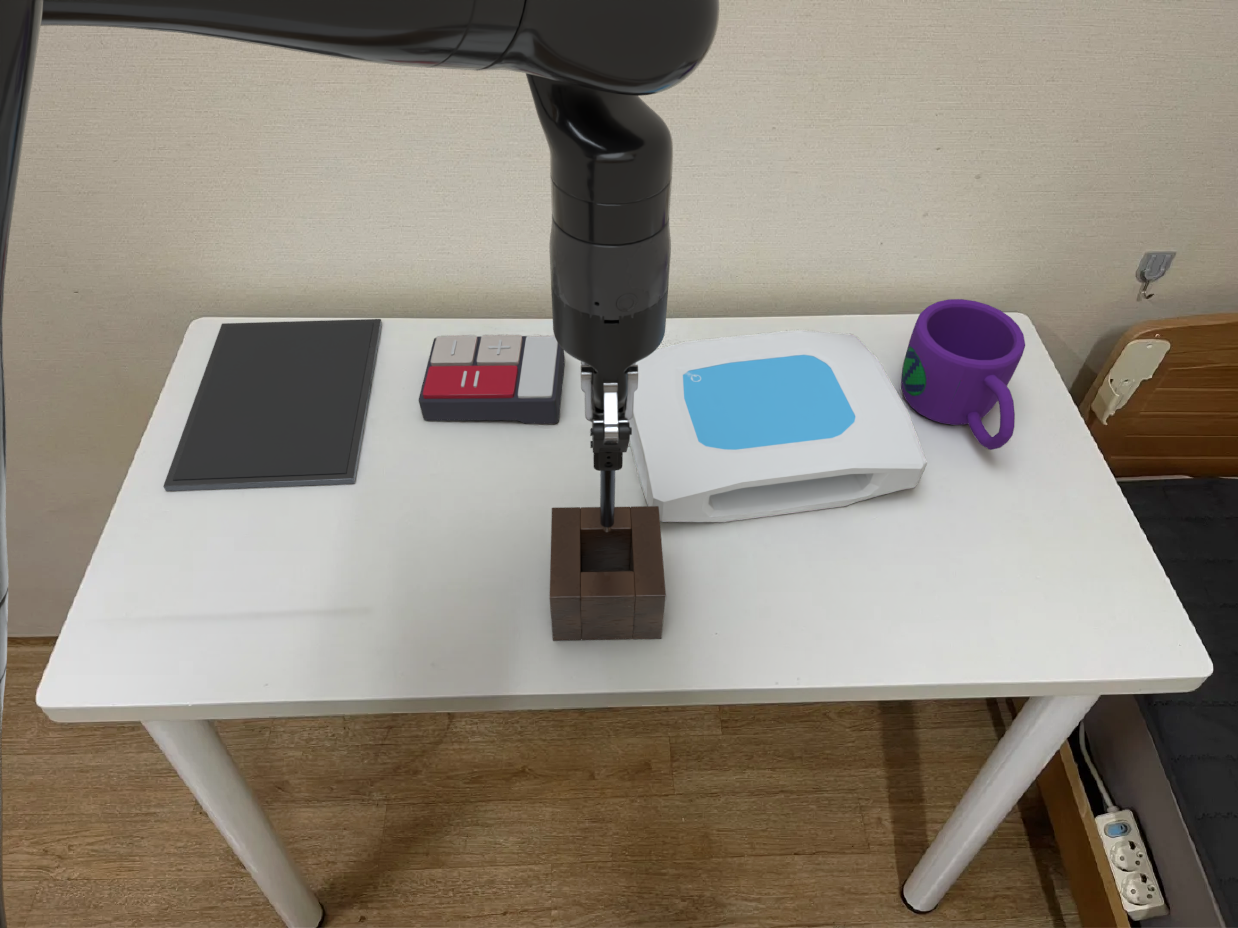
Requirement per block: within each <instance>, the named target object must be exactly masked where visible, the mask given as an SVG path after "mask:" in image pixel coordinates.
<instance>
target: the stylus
mask: <svg viewBox="0 0 1238 928" xmlns="http://www.w3.org/2000/svg"><path fill="white" fill-rule="evenodd" d="M616 471H617V470H615V471H599V472H600V473H599V475H600V476H599V478H600V479H599V507H600V524H601V525H602V526H603V530H604V531H605V532H610V531H611V526H613V524H614V514H615V507H616Z"/></svg>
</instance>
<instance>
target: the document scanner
mask: <svg viewBox="0 0 1238 928" xmlns="http://www.w3.org/2000/svg"><path fill="white" fill-rule="evenodd" d="M635 365H638V389H637V390H636V391H635V392H634V405H633V418H632V419H631V420H629V424H630V427H632V435H630V440H629V447H630V450H631V454H632V458H633V462H634V465H635V469H636V474H637V478H638V481H639V485H640V487H641V491H642V493H643V496H644V500H645V502H646V504H647V506H658V507H659V516H660V522H664V523H667V522H668V523H728V522H735V521H742V520H750V519H756V518H766V517H773V516H781V515H787V514H795V513H803V512H804V513H805V512H810V511H819V510H824V509H833V508H840V507H841V508H842V507H847V506H849V505H852V504H854V503H858V502H861V501H865V500H869V499H873V498H876V497H880V496H884V495H888V494H891V493H895V492H898V491H904V490H909V489H914V488H916V487H917V485H918V484H919V483H920V481H921V479H922V476H923V474H924V472H925V470H926V468H927V467H926V466H927V464H928V461H927V458H926V456H925V455H926V454H925V452H924V451H923V450H924V449H923V447H922V444H921V443H920V439H919V437H918V434H917V431H916V428H915V426H914V423H913V419H912V418H911V415H910V413H909V411H908V409H907V406H906V405H905V404H904V402H903V400H902V399H901V397H900V395H899V393H898V391H897V390H896V388H895V386H894V384H893V382H892V381H891V379H890V377H889V376H888V374H887V372H886V370H885V368H884V366H883V364H882V363H881V361H880V359H879V357H877V356H876V355H875V354H874V353H873V352H872V351H871V350H870V349H869V348H868V346H867V345H866V344H864V342H863V341H862V340H861V338H859V337H858V336H857V335H855V334H852V333H846V332H845V333H843V332H832V331H821V330H820V331H819V330H806V329H791V330H781V331H771V332H760V333H752V334H741V335H733V336H732V335H731V336H723V337H713V338H712V337H711V338H704V339H703V338H702V339H693V340H685V341H682V342H677V343H674V344H671V345H669V346H664V347H660V348H657V349H656V350H655V351H654V352H653V353H652V354H650V355H649V356H647V357H646V358H644V359H642V360H640V361H638V362H636V364H635Z"/></svg>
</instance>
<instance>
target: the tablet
mask: <svg viewBox="0 0 1238 928" xmlns="http://www.w3.org/2000/svg"><path fill="white" fill-rule="evenodd" d="M382 326H383V322H382V319H381V318H368V319H367V318H365V319H361V318H360V319H334V320H333V319H332V320H331V319H329V320H299V321H298V320H294V321H261V322H260V321H259V322H231V323H229V322H227V323H225V322H224V323H223V322H222V323H221V325H220V328H219V331H218V333H217V336H216V339H215V341H214V345H213V347H212V349H211V352H210V355H209V358H208V361H207V363H206V366H205V369H204V372H203V374H202V377H201V380H200V383H199V385H198V389H197V392H196V394H195V397H194V400H193V403H192V406H191V408H190V411H189V414H188V416H187V419H186V422H185V425H184V427H183V431H182V433H181V436H180V439H179V442H178V444H177V448H176V450H175V453H174V456H173V458H172V461H171V464H170V466H169V470H168V473H167V474H166V478H165V480H164V483H163V489H164V491H165V492H181V491H206V490H231V489H236V490H237V489H256V488H261V489H262V488H281V487H284V488H285V487H304V486H305V487H307V486H308V487H309V486H311V487H312V486H334V485H355V483H356V477H357V471H358V466H359V459H360V453H361V450H362V449H361V448H362V443H363V438H364V430H365V424H366V419H367V413H368V408H369V401H370V395H371V390H372V384H373V379H374V372H375V367H376V360H377V357H378V355H377V354H378V349H379V343H380V337H381V331H382Z"/></svg>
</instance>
